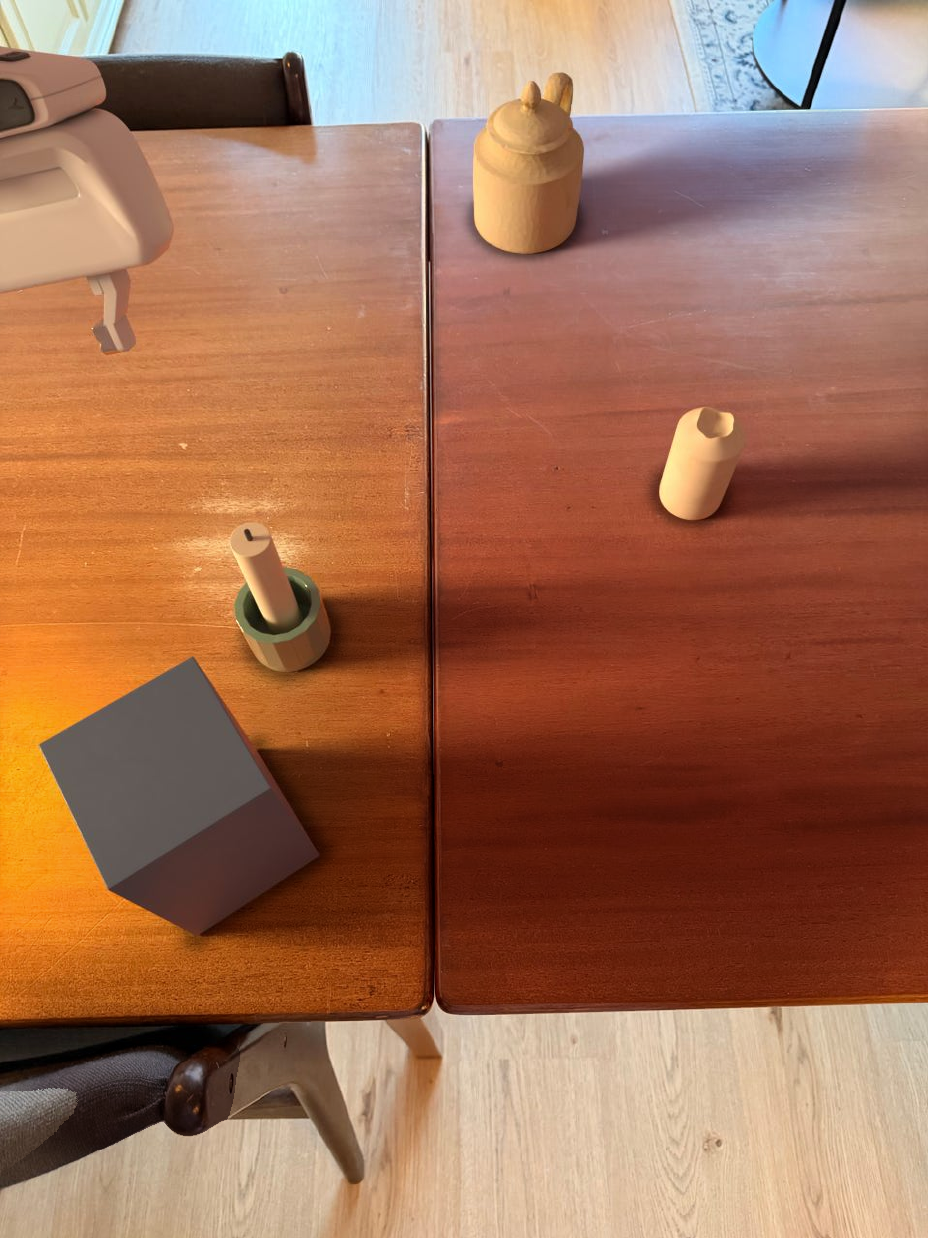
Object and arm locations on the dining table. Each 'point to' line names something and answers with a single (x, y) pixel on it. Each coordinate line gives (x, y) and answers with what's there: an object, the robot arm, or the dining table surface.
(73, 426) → the dining table surface
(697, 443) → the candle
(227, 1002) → the dining table surface
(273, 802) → the riser
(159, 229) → the robot arm
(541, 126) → the sugar bowl
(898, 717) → the dining table surface
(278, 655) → the holder
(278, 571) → the taper
